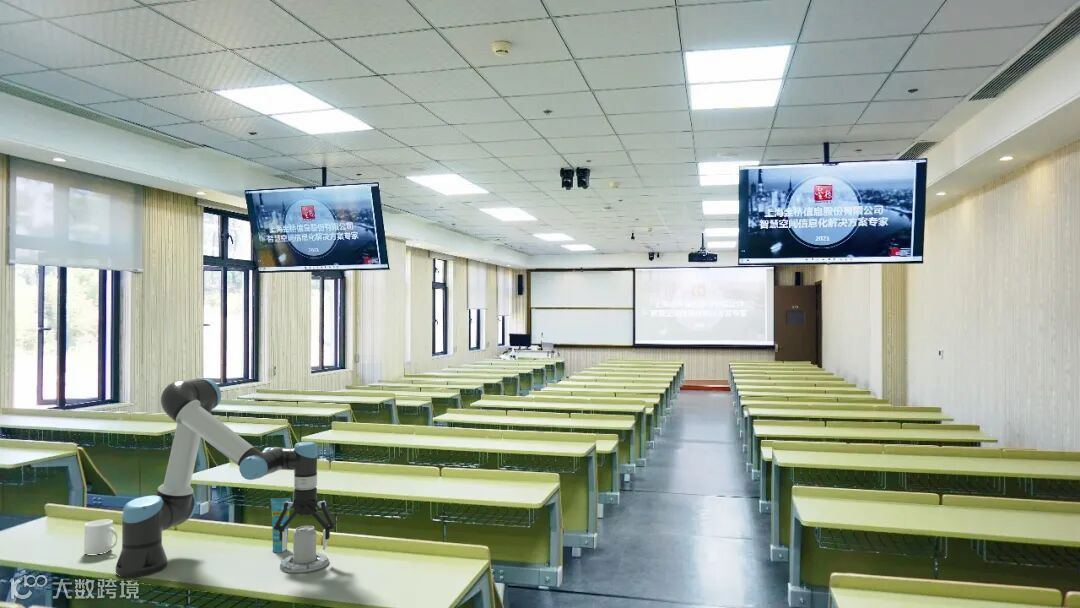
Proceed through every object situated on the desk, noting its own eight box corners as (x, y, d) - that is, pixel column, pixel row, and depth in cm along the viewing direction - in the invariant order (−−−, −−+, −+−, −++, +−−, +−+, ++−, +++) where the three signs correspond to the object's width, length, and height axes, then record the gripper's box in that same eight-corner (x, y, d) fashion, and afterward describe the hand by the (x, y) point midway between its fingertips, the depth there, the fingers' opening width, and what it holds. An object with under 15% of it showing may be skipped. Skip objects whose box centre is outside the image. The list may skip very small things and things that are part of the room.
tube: (267, 553, 244) (268, 500, 245) (271, 548, 249) (272, 496, 250) (289, 552, 246) (289, 499, 246) (292, 547, 250) (292, 496, 251)
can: (288, 565, 229) (289, 530, 230) (300, 558, 237) (301, 523, 237) (308, 567, 228) (309, 531, 228) (320, 559, 235) (320, 525, 236)
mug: (107, 557, 240) (107, 527, 240) (78, 555, 242) (78, 525, 242) (125, 549, 248) (126, 520, 248) (97, 547, 250) (98, 518, 251)
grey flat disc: (273, 574, 224) (273, 568, 224) (287, 557, 240) (287, 552, 240) (322, 572, 225) (322, 566, 225) (333, 556, 241) (333, 550, 241)
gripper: (265, 490, 228) (264, 553, 228) (339, 489, 231) (339, 551, 230) (272, 485, 236) (271, 546, 235) (344, 484, 238) (343, 544, 237)
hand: (304, 549), depth 233 cm, fingers open, 13 cm apart
